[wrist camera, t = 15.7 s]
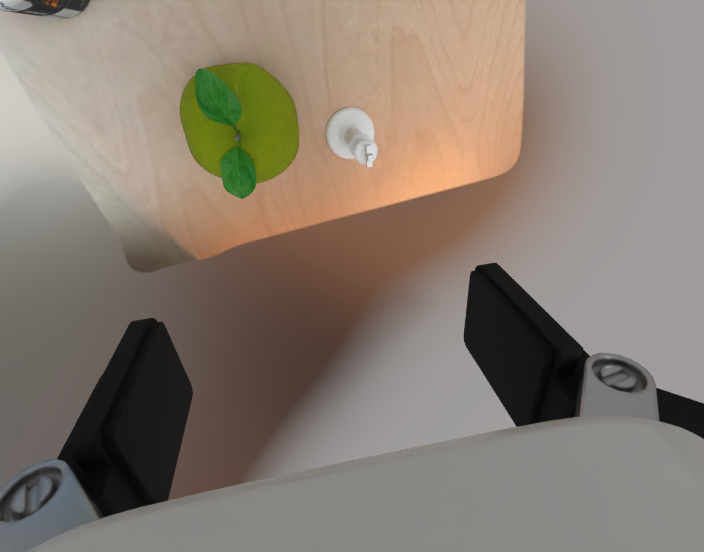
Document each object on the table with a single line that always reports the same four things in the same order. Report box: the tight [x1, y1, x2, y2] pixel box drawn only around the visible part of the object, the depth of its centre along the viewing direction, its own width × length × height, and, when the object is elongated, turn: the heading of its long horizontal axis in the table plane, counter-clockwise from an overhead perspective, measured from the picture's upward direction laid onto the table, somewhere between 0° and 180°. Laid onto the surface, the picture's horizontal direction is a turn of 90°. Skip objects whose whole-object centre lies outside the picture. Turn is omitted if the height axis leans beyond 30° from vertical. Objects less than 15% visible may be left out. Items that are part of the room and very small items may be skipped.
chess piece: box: [326, 107, 378, 167], centre depth 34 cm, size 5×5×10 cm
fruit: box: [180, 63, 299, 199], centre depth 31 cm, size 9×9×10 cm
